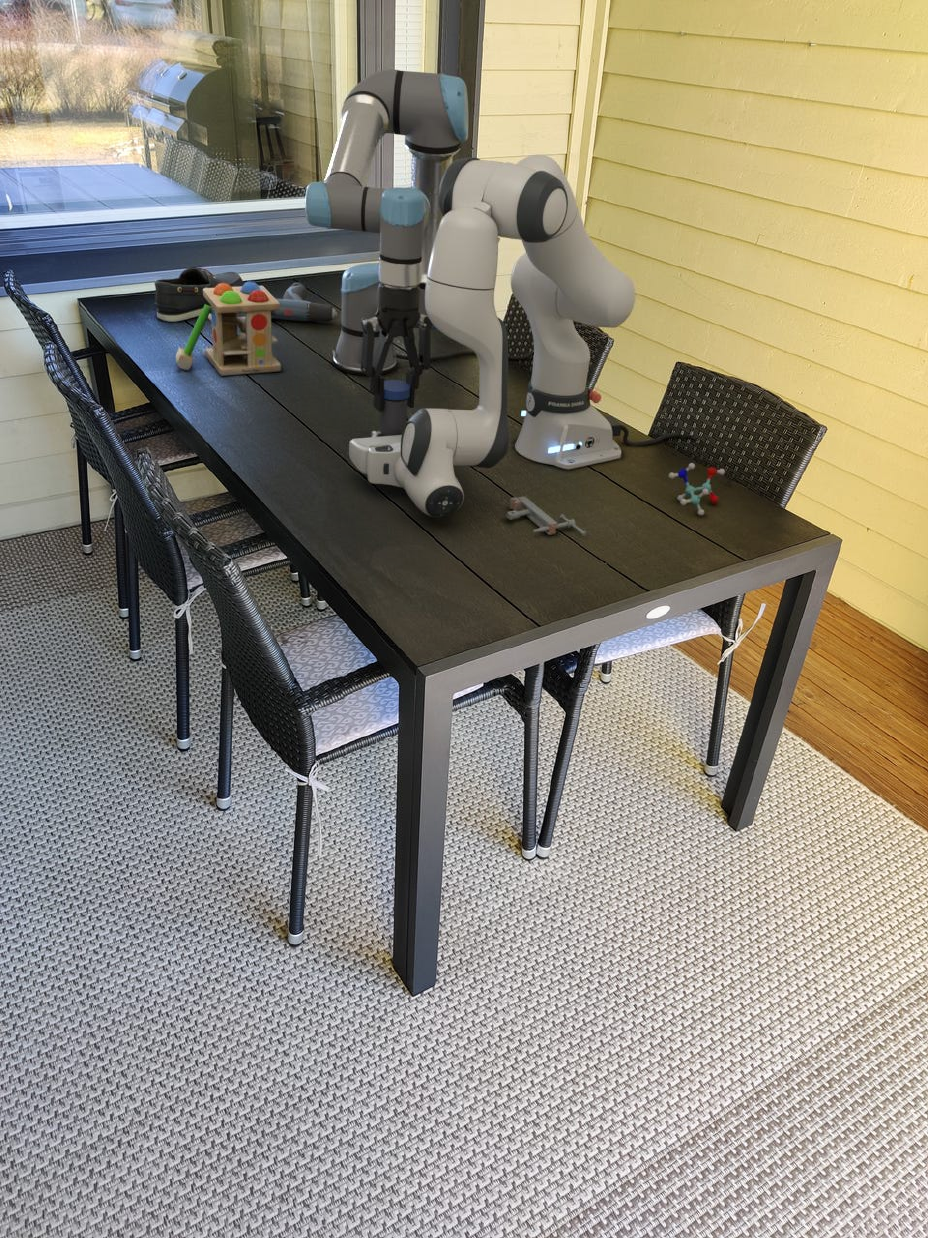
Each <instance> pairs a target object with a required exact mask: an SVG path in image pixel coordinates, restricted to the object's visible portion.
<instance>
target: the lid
mask: <svg viewBox="0 0 928 1238" xmlns="http://www.w3.org/2000/svg"><path fill="white" fill-rule="evenodd" d="M409 396H410V385H409V384H407V383H405V381H403V380H396V379H395V380H394V379H390V380H384V398H385V399H389V400H404V399H407V398H408V397H409Z"/></svg>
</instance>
